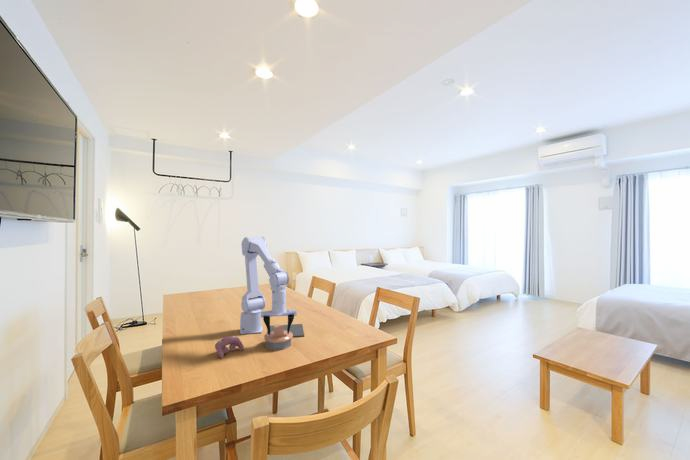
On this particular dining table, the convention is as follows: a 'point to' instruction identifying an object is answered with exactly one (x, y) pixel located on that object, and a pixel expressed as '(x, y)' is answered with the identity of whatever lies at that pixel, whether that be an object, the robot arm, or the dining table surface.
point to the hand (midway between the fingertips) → (278, 333)
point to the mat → (293, 329)
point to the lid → (278, 335)
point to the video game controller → (231, 340)
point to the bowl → (278, 345)
